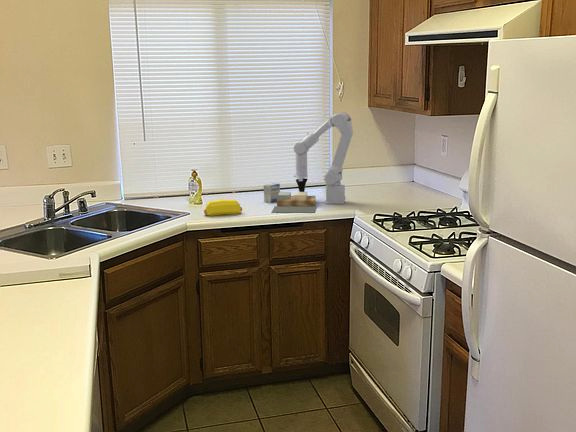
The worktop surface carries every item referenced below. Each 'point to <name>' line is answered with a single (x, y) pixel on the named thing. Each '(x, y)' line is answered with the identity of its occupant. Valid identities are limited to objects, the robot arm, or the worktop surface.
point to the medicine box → (271, 192)
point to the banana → (222, 207)
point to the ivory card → (300, 195)
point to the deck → (297, 202)
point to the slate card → (284, 195)
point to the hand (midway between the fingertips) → (301, 193)
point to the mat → (294, 209)
